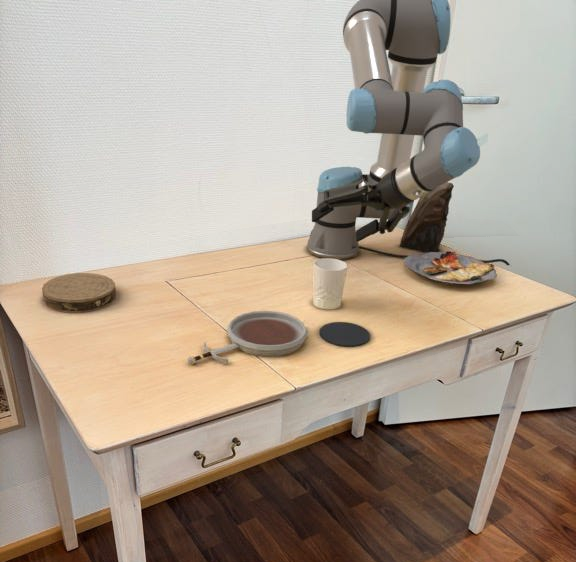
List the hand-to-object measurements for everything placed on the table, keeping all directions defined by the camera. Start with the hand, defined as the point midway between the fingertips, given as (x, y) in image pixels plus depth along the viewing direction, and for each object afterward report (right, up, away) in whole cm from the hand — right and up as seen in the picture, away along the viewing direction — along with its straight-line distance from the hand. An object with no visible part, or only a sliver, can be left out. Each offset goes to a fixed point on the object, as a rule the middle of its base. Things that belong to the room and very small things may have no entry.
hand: (335, 226), depth 133 cm
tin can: (-59, -16, +1) cm, 61 cm away
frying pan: (-20, -28, -14) cm, 37 cm away
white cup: (-2, -17, +6) cm, 18 cm away
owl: (+30, +6, +46) cm, 55 cm away
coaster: (+1, -26, -7) cm, 27 cm away
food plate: (+34, -6, +28) cm, 44 cm away
